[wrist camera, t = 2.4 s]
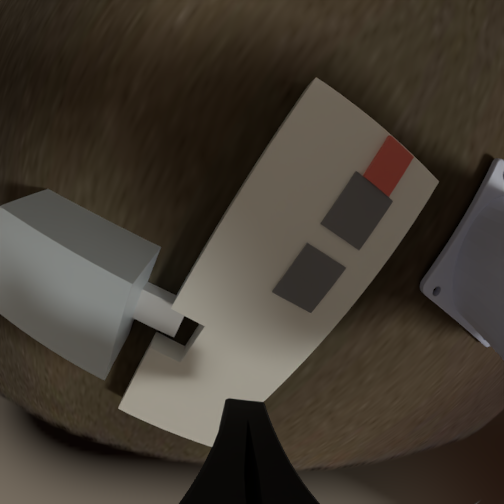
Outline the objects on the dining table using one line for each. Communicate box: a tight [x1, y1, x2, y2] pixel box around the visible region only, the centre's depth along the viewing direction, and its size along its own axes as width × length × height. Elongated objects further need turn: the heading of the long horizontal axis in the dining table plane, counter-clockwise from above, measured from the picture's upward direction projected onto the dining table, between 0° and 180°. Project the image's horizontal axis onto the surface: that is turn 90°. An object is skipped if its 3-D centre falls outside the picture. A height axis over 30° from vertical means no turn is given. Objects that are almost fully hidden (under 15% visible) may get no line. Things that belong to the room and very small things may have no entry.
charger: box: [0, 189, 184, 380], centre depth 10 cm, size 8×5×4 cm, turn 62°
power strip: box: [118, 77, 439, 447], centre depth 12 cm, size 6×18×1 cm, turn 148°
